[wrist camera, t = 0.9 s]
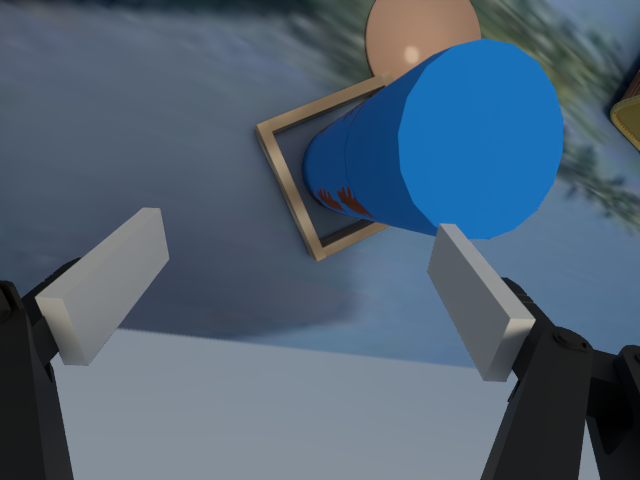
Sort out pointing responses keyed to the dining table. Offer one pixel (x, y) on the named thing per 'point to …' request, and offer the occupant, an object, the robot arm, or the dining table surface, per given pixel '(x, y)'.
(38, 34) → the dining table surface
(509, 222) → the thermos
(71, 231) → the dining table surface
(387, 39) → the saucer
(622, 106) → the picnic basket
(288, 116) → the square frame
